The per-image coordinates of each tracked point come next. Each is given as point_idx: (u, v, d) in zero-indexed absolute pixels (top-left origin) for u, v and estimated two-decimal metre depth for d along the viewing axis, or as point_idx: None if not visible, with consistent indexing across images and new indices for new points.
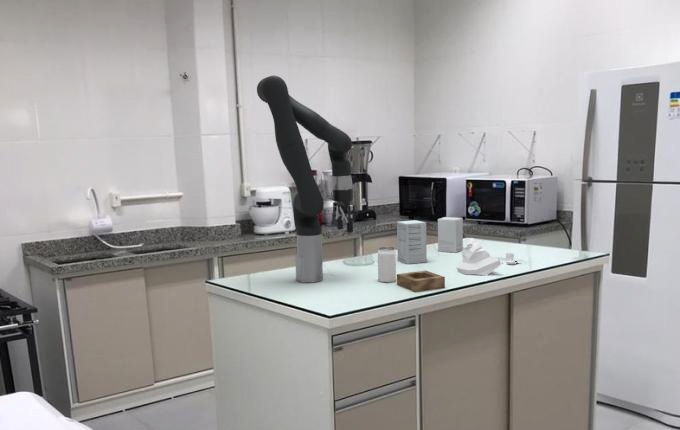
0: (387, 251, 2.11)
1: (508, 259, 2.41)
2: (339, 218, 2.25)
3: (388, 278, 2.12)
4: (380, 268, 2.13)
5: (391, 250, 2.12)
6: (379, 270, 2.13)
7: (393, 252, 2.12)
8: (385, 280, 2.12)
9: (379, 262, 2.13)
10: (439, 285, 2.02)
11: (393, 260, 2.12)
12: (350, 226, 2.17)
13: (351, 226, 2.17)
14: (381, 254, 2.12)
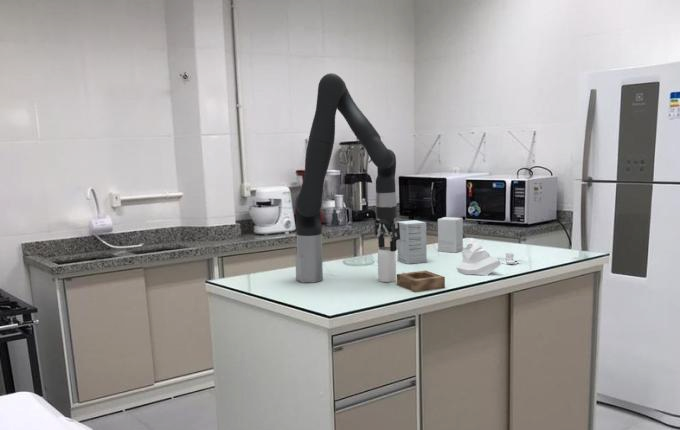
0: (387, 251, 2.11)
1: (508, 259, 2.41)
2: (381, 236, 2.17)
3: (388, 278, 2.12)
4: (380, 268, 2.13)
5: None
6: (379, 270, 2.13)
7: (393, 252, 2.12)
8: (385, 280, 2.12)
9: (379, 262, 2.13)
10: (439, 285, 2.02)
11: (393, 260, 2.12)
12: (394, 245, 2.09)
13: (395, 245, 2.09)
14: (381, 254, 2.12)
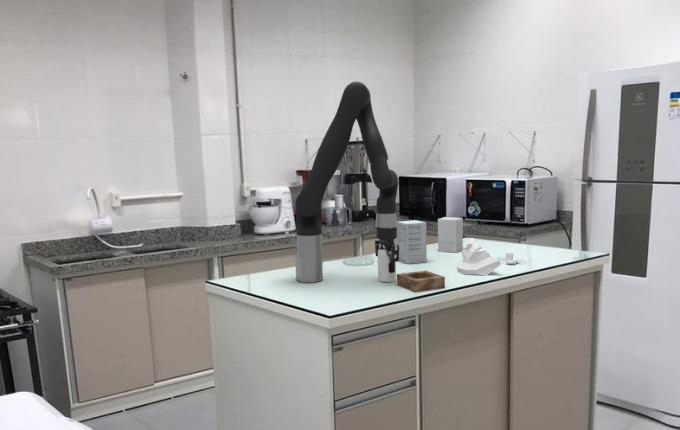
0: None
1: (508, 259, 2.41)
2: None
3: (388, 278, 2.12)
4: (380, 268, 2.13)
5: None
6: (379, 270, 2.13)
7: None
8: (385, 280, 2.12)
9: (379, 262, 2.13)
10: (439, 285, 2.02)
11: None
12: (392, 266, 2.10)
13: (393, 266, 2.11)
14: (381, 253, 2.12)
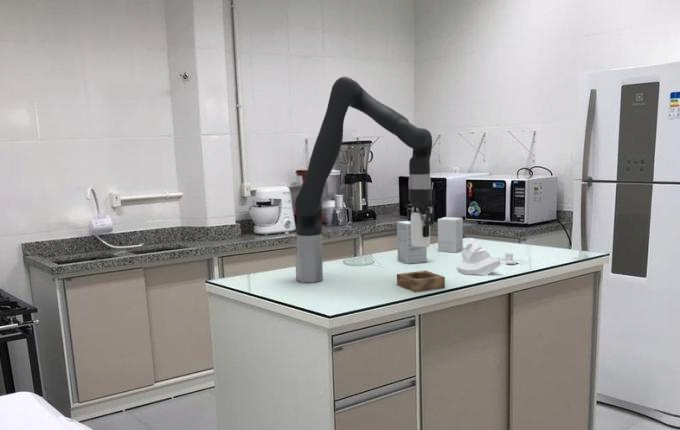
0: None
1: (507, 259, 2.41)
2: None
3: (422, 242, 2.01)
4: (413, 233, 2.02)
5: None
6: (412, 234, 2.03)
7: None
8: (418, 244, 2.02)
9: (412, 226, 2.02)
10: (439, 285, 2.02)
11: None
12: (427, 230, 2.00)
13: (428, 230, 2.00)
14: (415, 217, 2.01)
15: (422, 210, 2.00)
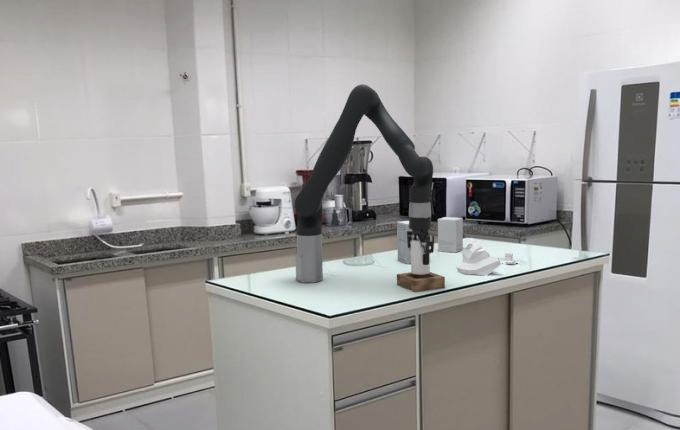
0: None
1: (507, 259, 2.41)
2: None
3: (422, 270, 2.02)
4: (413, 260, 2.03)
5: None
6: (412, 262, 2.04)
7: None
8: (418, 272, 2.03)
9: (412, 254, 2.03)
10: (439, 285, 2.02)
11: None
12: (427, 258, 2.01)
13: (428, 258, 2.01)
14: (415, 245, 2.02)
15: (422, 238, 2.01)
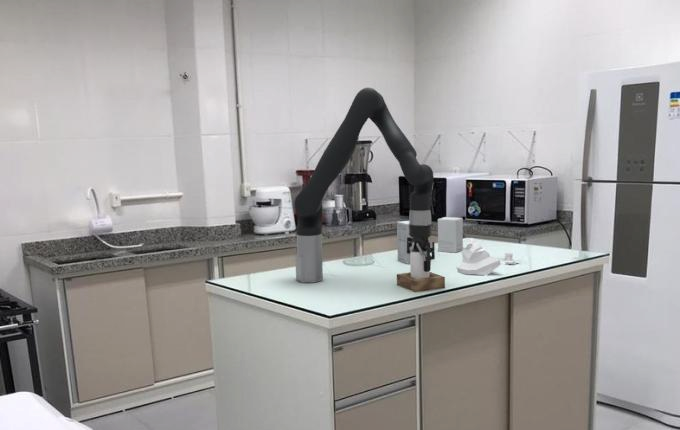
0: None
1: (507, 259, 2.41)
2: None
3: None
4: (413, 272, 2.04)
5: None
6: (412, 273, 2.04)
7: None
8: None
9: (412, 265, 2.04)
10: (439, 285, 2.02)
11: None
12: (428, 265, 2.00)
13: (429, 265, 2.00)
14: (414, 256, 2.02)
15: (422, 245, 2.01)
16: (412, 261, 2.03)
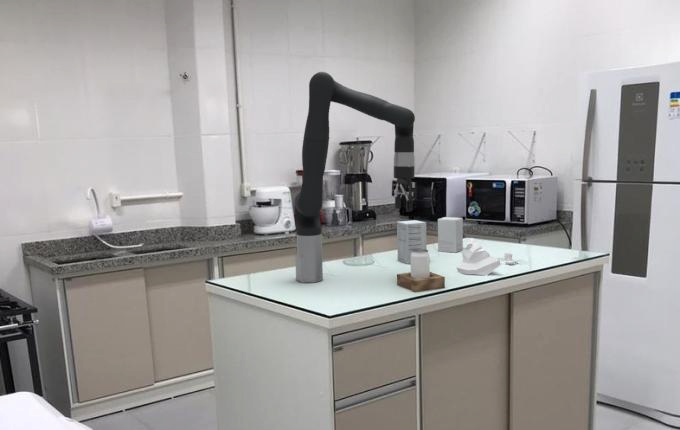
0: (421, 253, 2.02)
1: (506, 259, 2.41)
2: (398, 197, 2.18)
3: None
4: (413, 272, 2.04)
5: (425, 252, 2.02)
6: (412, 273, 2.04)
7: (427, 254, 2.03)
8: None
9: (412, 265, 2.04)
10: (439, 285, 2.02)
11: (427, 263, 2.03)
12: (410, 204, 2.10)
13: (411, 204, 2.10)
14: (415, 256, 2.02)
15: (405, 186, 2.11)
16: (412, 261, 2.03)
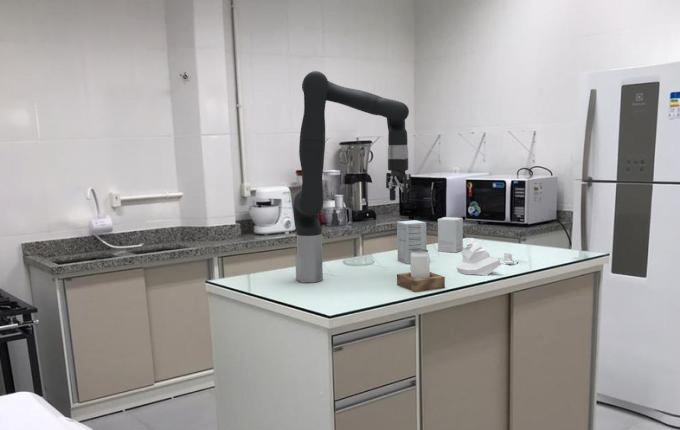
0: (421, 253, 2.02)
1: (506, 259, 2.41)
2: (392, 189, 2.23)
3: None
4: (413, 272, 2.04)
5: (425, 252, 2.02)
6: (412, 273, 2.04)
7: (427, 254, 2.03)
8: None
9: (412, 265, 2.04)
10: (439, 285, 2.02)
11: (427, 263, 2.03)
12: (405, 196, 2.15)
13: (406, 196, 2.15)
14: (415, 256, 2.02)
15: (400, 178, 2.15)
16: (412, 261, 2.03)
